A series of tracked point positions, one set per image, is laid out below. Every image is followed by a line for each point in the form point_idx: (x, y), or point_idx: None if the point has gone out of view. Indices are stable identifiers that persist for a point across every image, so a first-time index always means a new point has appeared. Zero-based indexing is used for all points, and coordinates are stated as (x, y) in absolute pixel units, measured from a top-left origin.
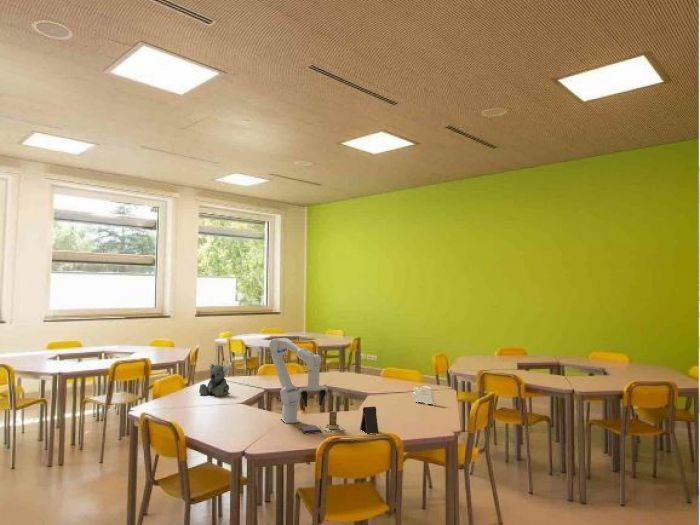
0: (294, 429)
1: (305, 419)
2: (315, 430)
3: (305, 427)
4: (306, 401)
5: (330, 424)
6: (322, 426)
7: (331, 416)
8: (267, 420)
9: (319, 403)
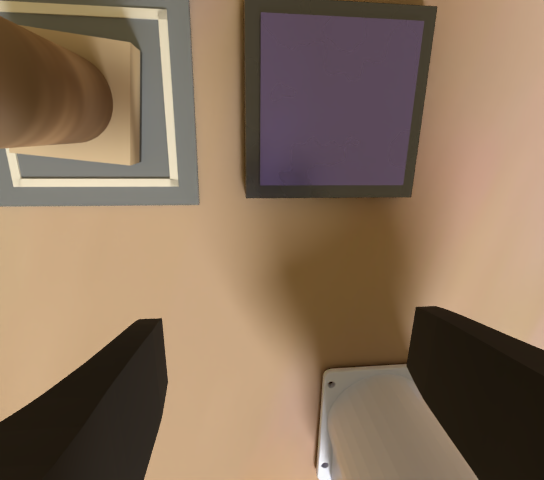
0: (435, 193)
1: (249, 436)
2: (308, 12)
3: (370, 141)
4: (508, 346)
5: (102, 75)
6: (175, 200)
7: (41, 41)
8: None
9: (159, 375)
